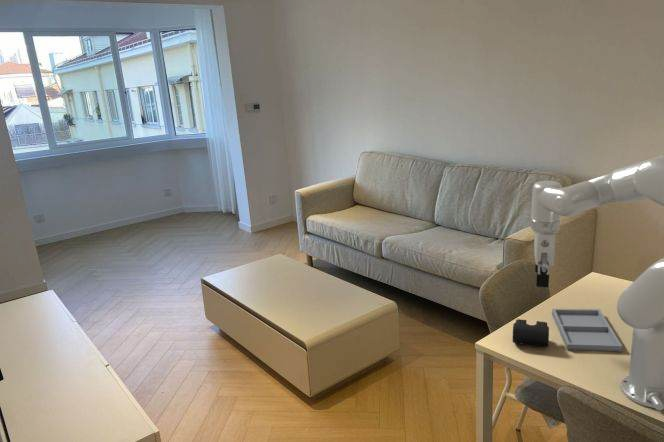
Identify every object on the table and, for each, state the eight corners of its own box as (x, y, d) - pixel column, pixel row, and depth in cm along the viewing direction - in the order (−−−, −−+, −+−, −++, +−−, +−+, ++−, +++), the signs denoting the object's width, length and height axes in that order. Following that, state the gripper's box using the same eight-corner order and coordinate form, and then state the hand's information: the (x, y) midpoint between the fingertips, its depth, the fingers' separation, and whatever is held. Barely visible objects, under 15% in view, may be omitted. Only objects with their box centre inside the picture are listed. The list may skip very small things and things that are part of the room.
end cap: (512, 347, 151) (512, 328, 149) (514, 336, 157) (514, 316, 155) (548, 352, 146) (548, 332, 145) (548, 340, 153) (549, 320, 151)
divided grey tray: (621, 352, 143) (622, 346, 142) (567, 350, 146) (567, 344, 146) (599, 314, 164) (599, 309, 163) (552, 314, 167) (552, 308, 167)
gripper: (561, 236, 131) (557, 293, 137) (557, 215, 146) (553, 268, 152) (531, 234, 134) (528, 291, 139) (530, 214, 149) (527, 266, 154)
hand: (541, 279), depth 146 cm, fingers open, 9 cm apart
